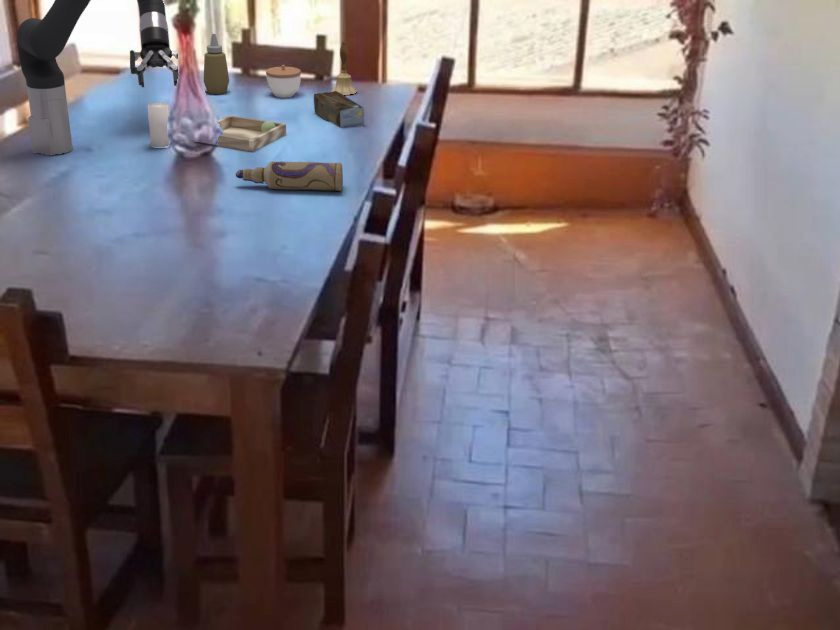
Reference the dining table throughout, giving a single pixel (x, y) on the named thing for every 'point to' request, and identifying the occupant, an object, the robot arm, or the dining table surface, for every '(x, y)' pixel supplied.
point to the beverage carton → (338, 109)
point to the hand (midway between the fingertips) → (159, 85)
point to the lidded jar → (283, 81)
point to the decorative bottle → (297, 175)
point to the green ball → (267, 126)
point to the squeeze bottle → (215, 68)
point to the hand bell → (344, 74)
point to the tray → (247, 133)
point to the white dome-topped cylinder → (158, 123)
